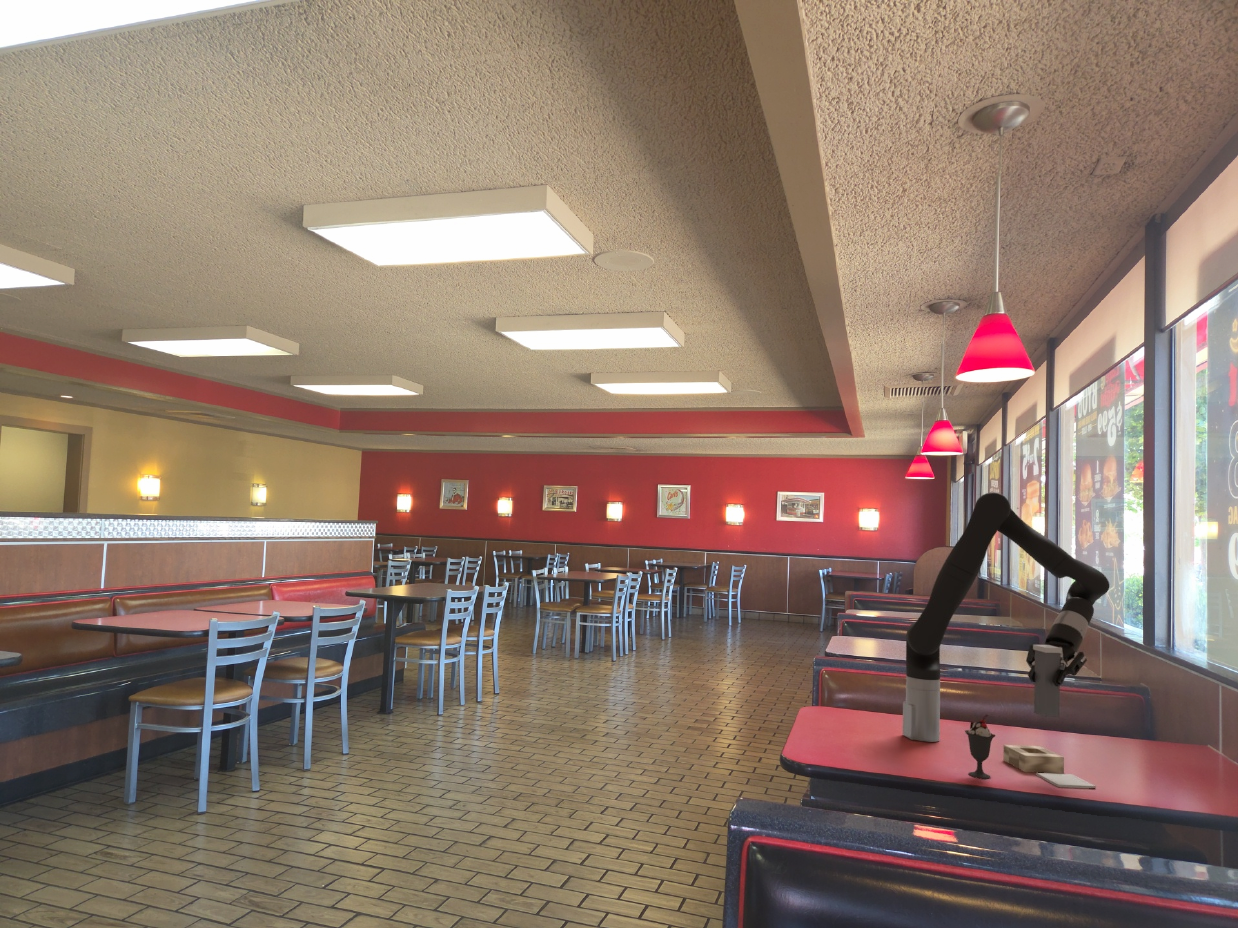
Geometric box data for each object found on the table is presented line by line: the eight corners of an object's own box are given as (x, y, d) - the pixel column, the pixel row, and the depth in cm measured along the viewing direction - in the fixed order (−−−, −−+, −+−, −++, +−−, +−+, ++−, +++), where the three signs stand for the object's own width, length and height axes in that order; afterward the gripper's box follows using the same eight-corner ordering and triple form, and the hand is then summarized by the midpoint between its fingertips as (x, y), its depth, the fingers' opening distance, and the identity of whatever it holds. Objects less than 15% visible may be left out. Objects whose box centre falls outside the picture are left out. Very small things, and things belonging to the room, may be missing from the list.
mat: (1058, 787, 181) (1058, 784, 181) (1036, 775, 190) (1036, 772, 190) (1095, 788, 181) (1095, 785, 182) (1072, 776, 190) (1072, 774, 190)
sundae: (993, 781, 183) (993, 717, 184) (962, 776, 186) (963, 712, 188) (996, 775, 188) (996, 712, 190) (966, 769, 192) (967, 708, 193)
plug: (1044, 717, 192) (1044, 647, 193) (1032, 712, 197) (1033, 644, 198) (1061, 717, 193) (1061, 648, 194) (1049, 712, 197) (1049, 644, 198)
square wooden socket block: (1024, 771, 193) (1024, 755, 193) (1003, 760, 203) (1003, 744, 203) (1063, 773, 193) (1063, 756, 193) (1040, 761, 203) (1040, 746, 203)
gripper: (1034, 619, 207) (1009, 667, 199) (1091, 625, 195) (1067, 676, 187) (1045, 638, 209) (1021, 686, 201) (1102, 646, 197) (1078, 697, 189)
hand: (1043, 681), depth 194 cm, fingers closed on plug, 5 cm apart
